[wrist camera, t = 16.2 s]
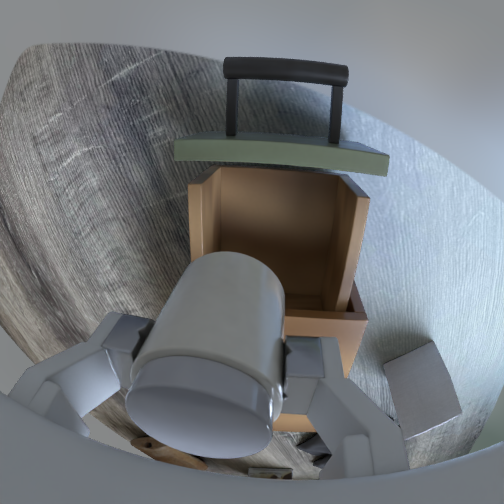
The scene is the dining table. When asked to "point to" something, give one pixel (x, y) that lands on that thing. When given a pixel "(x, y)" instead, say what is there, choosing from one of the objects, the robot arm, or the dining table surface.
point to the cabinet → (325, 325)
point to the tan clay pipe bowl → (167, 453)
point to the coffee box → (271, 473)
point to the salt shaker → (214, 360)
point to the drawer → (283, 191)
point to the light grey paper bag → (421, 390)
